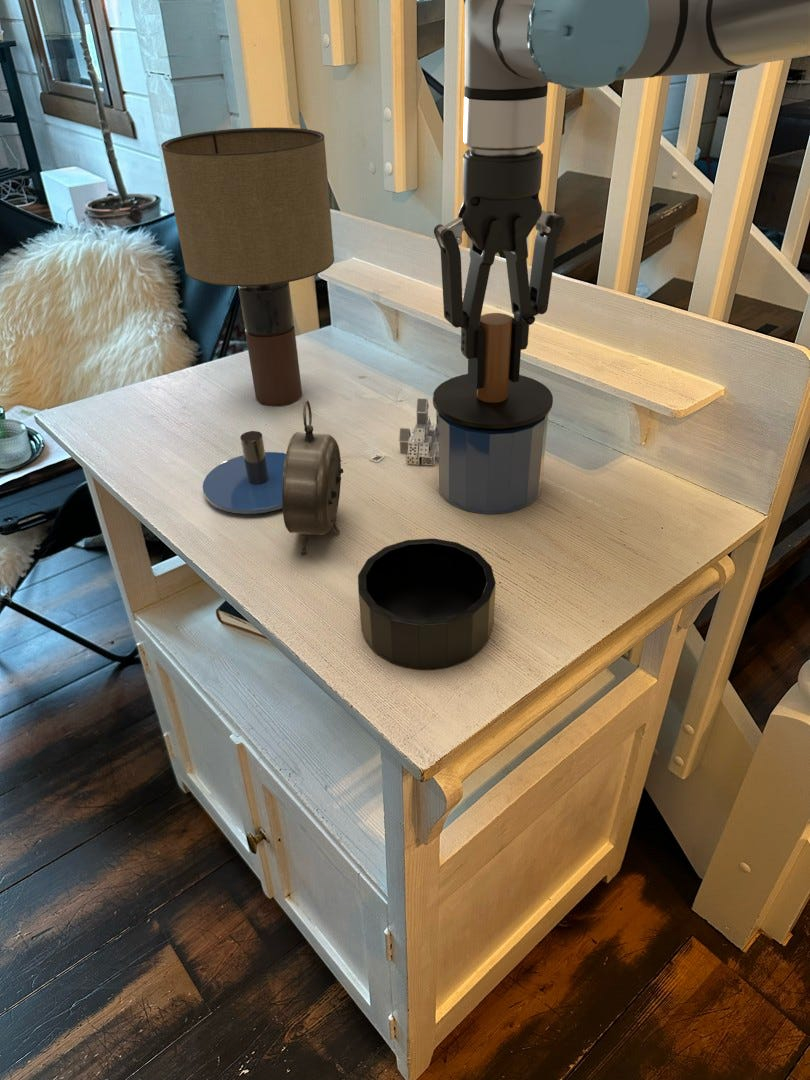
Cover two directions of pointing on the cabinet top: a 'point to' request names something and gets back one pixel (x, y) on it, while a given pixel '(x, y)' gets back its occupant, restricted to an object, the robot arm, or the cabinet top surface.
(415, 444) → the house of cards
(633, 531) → the cabinet top surface
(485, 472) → the pot
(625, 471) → the cabinet top surface
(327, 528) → the alarm clock
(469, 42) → the robot arm
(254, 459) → the pot lid
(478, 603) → the pan
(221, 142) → the lamp
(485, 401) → the lid
